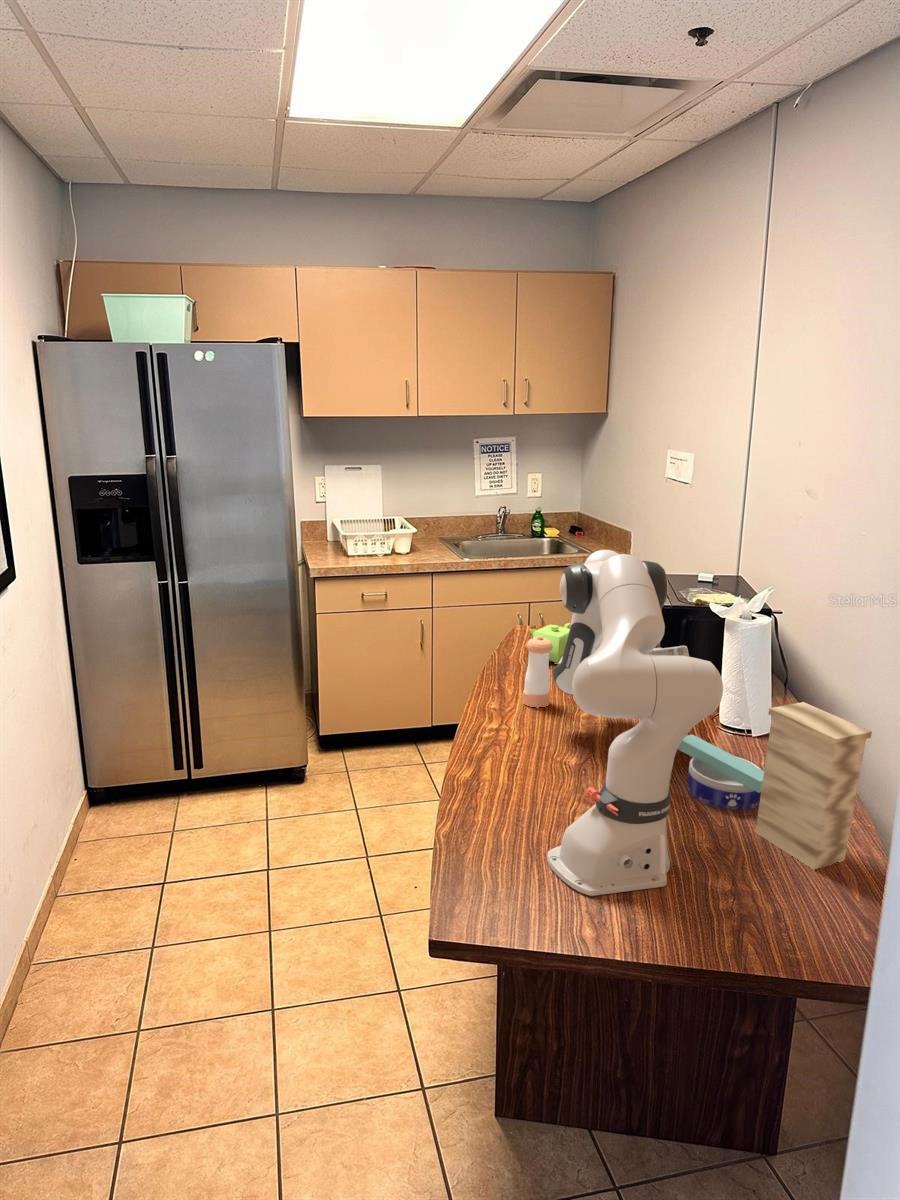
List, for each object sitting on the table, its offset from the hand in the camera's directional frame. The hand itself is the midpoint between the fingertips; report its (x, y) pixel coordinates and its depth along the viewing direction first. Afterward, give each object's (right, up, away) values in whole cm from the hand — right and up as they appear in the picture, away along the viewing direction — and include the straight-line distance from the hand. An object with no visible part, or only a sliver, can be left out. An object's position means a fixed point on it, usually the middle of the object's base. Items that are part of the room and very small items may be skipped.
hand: (669, 651), depth 187 cm
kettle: (-17, -7, +72) cm, 75 cm away
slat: (+8, -24, -12) cm, 28 cm away
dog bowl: (+9, -30, -11) cm, 33 cm away
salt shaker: (-27, -16, +35) cm, 48 cm away
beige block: (+16, -35, -31) cm, 50 cm away
